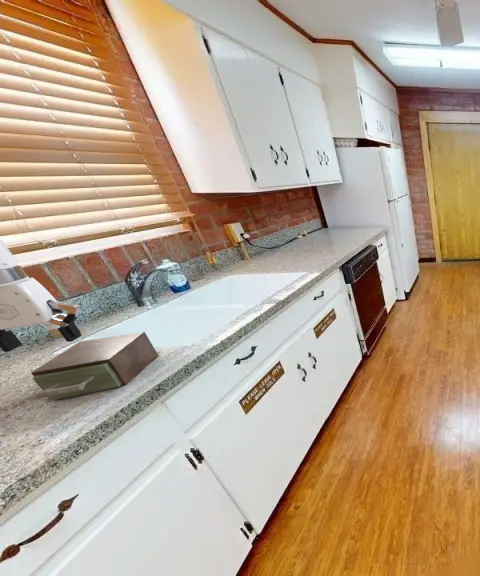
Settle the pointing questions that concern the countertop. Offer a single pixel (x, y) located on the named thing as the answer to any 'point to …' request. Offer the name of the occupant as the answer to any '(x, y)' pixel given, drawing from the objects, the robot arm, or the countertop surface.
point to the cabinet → (107, 356)
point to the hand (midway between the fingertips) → (45, 343)
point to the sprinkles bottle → (53, 329)
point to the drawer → (76, 381)
